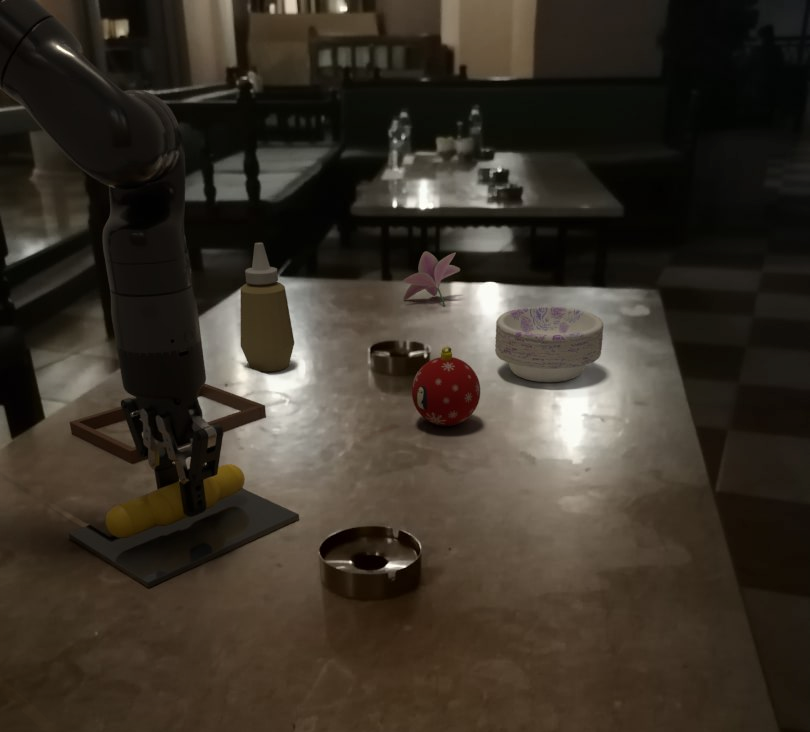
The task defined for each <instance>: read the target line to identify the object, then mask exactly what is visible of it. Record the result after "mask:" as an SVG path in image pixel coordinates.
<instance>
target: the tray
mask: <svg viewBox="0 0 810 732" xmlns="http://www.w3.org/2000/svg"><path fill="white" fill-rule="evenodd" d="M200 397H202V398H204V399H208V400H210V401H213V402H216V403H217V404H221V405H224V406H226V407H229V408H232V409H234V410H236V411H237V412H235V413H232V414H228V415H225V416H222V417H219V418H216V419H213V420H210V421H206V422H207V423H208V424H209V425H210V426H212V425H215V424H220V425H221V427H222V429H223V433H225V432H228V431H231V430H235V429H236V428H239V427H243V426H245V425H249V424H251V423H254V422H256V421H259V420H262V419H266V418H267V414H266V405H265V404H262V403H259V402H258V401H254V400H251V399H249V398H246V397H244V396H240V395H237V394H236V393H233V392H230V391H226V390H224V389H221V388H218V387H215V386H212V385H211V384H207V383H205V384H204V385H203V387H202V388H201V389H200V390H199V392H198V394H197V398H200ZM125 421H126V418H125V415H124V413H123V410H122V407H121V406H118V407H115V408H111V409H108V410H105V411H101V412H98V413H94V414H92V415H91V414H90V415H87V416H85V417H81V418H78V419H74V420H72V421H69V427H70V433H71V435H72V436H75V437H77V438H78V439H80V440H82V441H85V442H86V443H89V444H91V445H93V446H95V447H97V448H99V449H100V450H103V451H105V452H107V453H109V454H111V455H113V456H115V457H116V458H119V459H121V460H123V461H125V462H127V463H129V464H131V465H134V464H138V463H140V462H143V461H146V460H148V458H147V457H145V458H141V457H140V456H139V454H138V452H137V449H136V446H134V447H133V446H131V445H128V444H127V443H124V442H122V441H120V440H118V439H116V438H113V437H112V436H109V435H107V434H106V433H103V432H101V431H99V429H102V428H104V427H107V426H111V425H113V424H117V423H121V422H125ZM191 444H192V443H191V442H190V443H188V444H185V445H182V446H179V447H177V448H178V449H181V448H184V447H187V446H190V445H191Z"/></svg>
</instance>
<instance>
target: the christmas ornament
mask: <svg viewBox="0 0 810 732" xmlns="http://www.w3.org/2000/svg"><path fill="white" fill-rule="evenodd" d="M411 398H412V402H413V405H414V407H415V409H416V411H417V412H418V414H419V415H420V416H421V417H422V418H423V419H424V420H426V421H427V422H429V423H431V424H433V425H436V426H441V427H451V426H455V425H458V424H461V423H463V422H465V421H466V420H467V419H469V418H470V417H471V416H472V415H473V413H474V412H475V410H476V409H477V407H478V406H479V402H480V399H481V384H480V380H479V378H478V375H477V373H476V372H475V370H474V369H473V368H472V367H471V366H470V365H469V364H468V363H467V362H465V361H464V360H462V359H460V358H457V357H453V352H452V348H451V347H450V346H445V347H442V348H441V352H440V356H439V357H436V358H432V359H431V360H429V361H427V362H426V363H425V364H423V365H422V366H421V367H420V368H419V370H418V371H417V372H416V374H415V376H414V379H413V380H412V385H411Z"/></svg>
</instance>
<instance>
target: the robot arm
mask: <svg viewBox="0 0 810 732" xmlns="http://www.w3.org/2000/svg"><path fill="white" fill-rule="evenodd" d="M84 54H85V53H84V48H83V46H82V44H81V42H80V41H79V39H78V38H77V37H76V36H75V35H74V34H73V32H72V31H71V30H70V29H69V28H68V27H67V26H65V24H64V23H62V22H61V21H60V20H59V19H58V18H57V17H56V16H55V15H53V14H52V13H51V12H50V11H49V10H47V8H45V7H44V5H42V4H40V2H38V1H37V0H0V90H2V91H3V92H4V93H5V94H6V95H8V96H9V97H10V98H11V99H13V100H14V101H15V102H17V103H19V104H20V105H21V106H22V107H23V108H24V109H25V110H26V112H27V113H28V114H29V115H30V116H31V117H32V119H33V120H34V121H35V123H36V124H37V125H38V126H39V127H40V129H42V131H43V132H44V133H45V134H46V135H47V136H48V137H49V138H50V140H52V142H53V143H54V144H55V145H56V147H58V148H59V150H61V152H63V154H64V155H65V156H66V157H67V158H68V159H69V160H70V161H71V162H73V164H74V165H76V166H77V167H78V168H79V169H81V170H82V171H83V172H85V174H87V175H89V176H90V177H91V178H93V180H94V179H95V180H96V181H98V182H99V183H101V184H103V185H105V186H107V187H108V195H109V205H110V206H109V207H110V210H109V217H108V219H107V221H106V223H105V224H104V226H103V229H102V250H103V256H104V261H105V269H106V273H107V279H108V286H109V294H110V313H111V323H112V328H113V334H114V341H115V346H116V347H115V348H116V352H117V358H118V364H119V371H120V375H121V381H122V387H123V389H124V391H125V392H126V393H127V394H129V395H130V396H131V397H128V398H125V399H121V400H120V407H122V410H123V413H124V415H125V418H126V420H125V421H126V424H127V427H128V430H129V432H130V436H131V438H132V440H133V443H134V447H136V449H137V452H138V454H139V456H140V457H141V458H145V457H147V458H148V459H147V461H148V462H147V463H148V466H149V467H150V468H151V469H152V470H154V477H155V482H156V490H157V489H160V488H163V487H165V486H168V485H171V484H173V483H176V482H178V481H180V482H179V485H180V492H181V499H182V505H183V512H184V514H185V515H187V516H189V517H193V516H195V515H198V514H200V513H203V512H204V511H205V510H206V498H205V490H204V482H203V480H204V479H206V478H209V477H213V476H215V475H217V473H218V467H220V466H219V465H220V459H221V452H222V445H223V440H224V439H223V438H224V432H223V429H222V427H221V425H220V424H215V425H212V426H210V425H209V424H208V423H207V422H208V421H206V420H205V419H204V418H203V416H204V415H203V410H202V407H201V405H200V402H199V399H198V398H199V397H197V394H198V392H199V390H200V389H201V388H202V387H203V385H204V384H206V382H207V376H206V375H207V373H206V367H205V358H204V350H203V349H204V348H203V341H202V335H201V326H200V317H199V310H198V306H197V305H198V304H197V301H196V297H195V293H194V289H193V284H192V274H191V268H190V259H189V250H188V245H187V240H186V234H185V212H186V210H185V209H186V158H185V157H186V155H185V147H184V141H183V136H182V132H181V128H180V125H179V122H178V120H177V118H176V116H175V114H174V113H173V110H172V109H171V108H170V107H169V105H168V104H167V103H166V102H165V101H163V99H161V98H160V97H158V96H157V95H155V94H153V93H151V92H148V91H146V90H142V89H126V90H123V89H121V88H119V87H118V86H117V85H116V84H114V83H113V82H112V81H111V80H110V79H109V78H107V76H105V75H104V73H102V72H101V71H100V70H99V69H98V68H97V66H95V65H94V64H93V63H91V61H89V60H88V59H87V58H86V57H85V55H84ZM190 442H191V443H192V444H189V445H187V446H185V447H182V448H177V447H179V446H182V445H185V444H188V443H190ZM187 459H190V460H189V468H188V465H187Z"/></svg>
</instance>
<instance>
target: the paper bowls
mask: <svg viewBox="0 0 810 732" xmlns="http://www.w3.org/2000/svg"><path fill="white" fill-rule="evenodd" d="M603 337H604V321H603V320H602V319H601V318H600V317H599V316H597V315H596V314H594V313H591V312H589V311H586V310H582V309H577V308H571V307H562V306H530V307H520V308H516V309H511V310H509V311H506V312H504V313H502V314H501V315H500V316H498V318H497V319H496V322H495V345H494V346H495V348H494V349H495V350H494V351H495V355H496V357H497V358H498V359H499V360H500V361H504V362H505V363H507V364H508V367H509V369H510V370H511V372H512V373H513V374H515V376H517V377H519V378H522V379H524V380H526V381H531V382H538V383H561V382H565V381H570V380H572V379H575V378H577V377H579V376H580V375H581V374H582V373H583V371H584V370H585V368H586V367H587V365H590V364H592V363H595V362H596V361H597V360H599V359H600V358H601V355H602V347H603V340H604V338H603Z"/></svg>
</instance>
